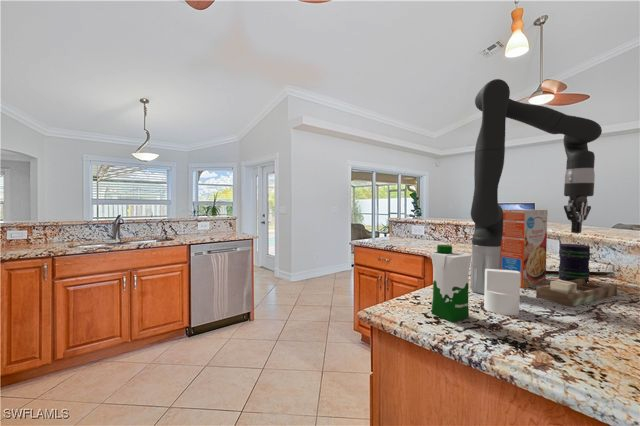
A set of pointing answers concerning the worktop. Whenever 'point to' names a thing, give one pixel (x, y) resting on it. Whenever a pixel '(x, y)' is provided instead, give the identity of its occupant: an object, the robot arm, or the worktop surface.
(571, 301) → the trap track
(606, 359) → the worktop surface
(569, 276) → the storage jar
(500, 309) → the base with upright slab
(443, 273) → the milk carton
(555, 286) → the maple block
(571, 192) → the robot arm
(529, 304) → the worktop surface
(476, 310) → the worktop surface
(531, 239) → the orange cereal box
